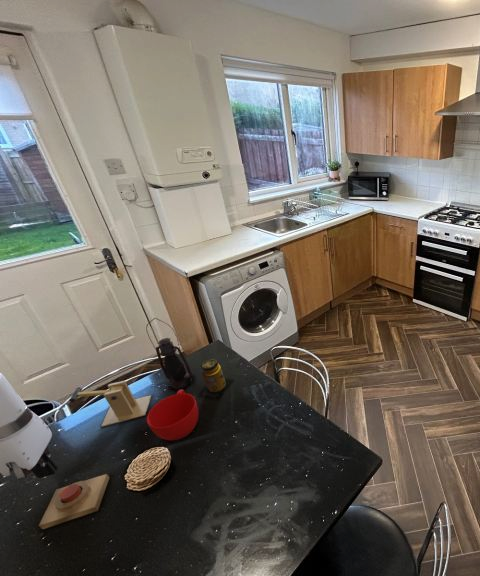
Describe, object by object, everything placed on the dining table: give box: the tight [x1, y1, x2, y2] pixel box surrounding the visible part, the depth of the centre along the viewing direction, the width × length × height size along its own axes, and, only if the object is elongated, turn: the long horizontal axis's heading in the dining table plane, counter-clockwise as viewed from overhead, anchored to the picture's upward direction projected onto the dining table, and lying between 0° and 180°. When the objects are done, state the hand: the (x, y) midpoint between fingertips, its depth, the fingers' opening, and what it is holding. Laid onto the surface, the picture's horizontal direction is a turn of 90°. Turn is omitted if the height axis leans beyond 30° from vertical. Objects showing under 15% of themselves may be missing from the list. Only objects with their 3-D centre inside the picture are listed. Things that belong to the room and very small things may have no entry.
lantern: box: [145, 317, 194, 390], centre depth 110 cm, size 8×8×30 cm
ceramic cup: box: [146, 389, 199, 441], centre depth 99 cm, size 13×17×10 cm
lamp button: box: [60, 483, 82, 503], centre depth 79 cm, size 4×4×2 cm
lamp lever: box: [68, 386, 123, 403], centre depth 99 cm, size 12×5×2 cm, turn 113°
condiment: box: [201, 358, 227, 393], centre depth 112 cm, size 7×8×12 cm
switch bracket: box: [101, 380, 152, 428], centre depth 103 cm, size 12×9×12 cm
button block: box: [38, 473, 110, 530], centre depth 80 cm, size 11×9×4 cm
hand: (48, 472), depth 75 cm, fingers closed
